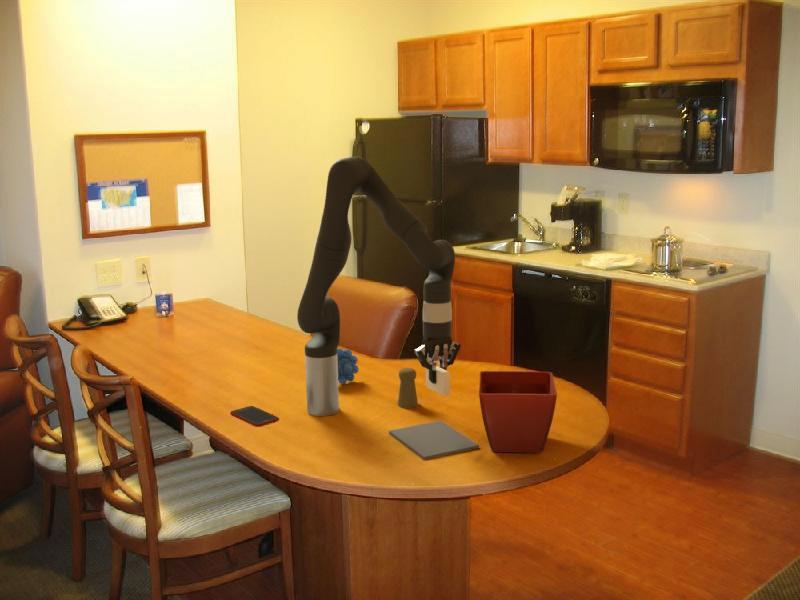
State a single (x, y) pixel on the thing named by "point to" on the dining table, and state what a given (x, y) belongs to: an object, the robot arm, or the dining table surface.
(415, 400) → the cork
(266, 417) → the cell phone
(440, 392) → the card box
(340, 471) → the dining table surface
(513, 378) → the plant pot
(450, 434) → the mat
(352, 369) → the grapes
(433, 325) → the robot arm
